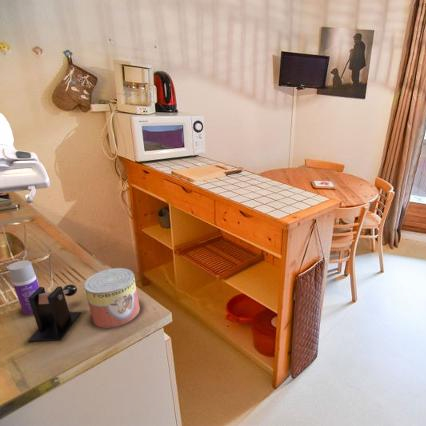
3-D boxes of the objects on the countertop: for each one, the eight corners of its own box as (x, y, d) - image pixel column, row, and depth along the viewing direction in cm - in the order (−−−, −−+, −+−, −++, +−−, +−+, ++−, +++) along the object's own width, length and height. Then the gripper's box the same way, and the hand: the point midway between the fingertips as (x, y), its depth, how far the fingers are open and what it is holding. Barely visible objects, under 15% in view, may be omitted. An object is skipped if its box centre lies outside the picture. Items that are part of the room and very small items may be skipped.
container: (31, 318, 85) (14, 271, 79) (19, 313, 86) (2, 267, 81) (50, 308, 89) (35, 262, 83) (39, 303, 91) (24, 258, 85)
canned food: (105, 336, 82) (96, 298, 77) (85, 317, 87) (75, 281, 82) (148, 313, 90) (142, 278, 86) (127, 297, 96) (121, 263, 91)
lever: (66, 295, 89) (66, 283, 89) (79, 294, 90) (79, 283, 90) (35, 306, 77) (36, 292, 77) (50, 305, 78) (51, 292, 78)
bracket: (53, 316, 86) (41, 280, 82) (81, 315, 88) (72, 279, 83) (29, 344, 77) (14, 306, 73) (61, 342, 79) (49, 304, 74)
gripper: (-64, 158, 80) (-56, 207, 77) (42, 152, 92) (52, 194, 89) (-54, 171, 85) (-46, 217, 82) (45, 163, 97) (55, 203, 94)
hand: (6, 205), depth 86 cm, fingers open, 8 cm apart
